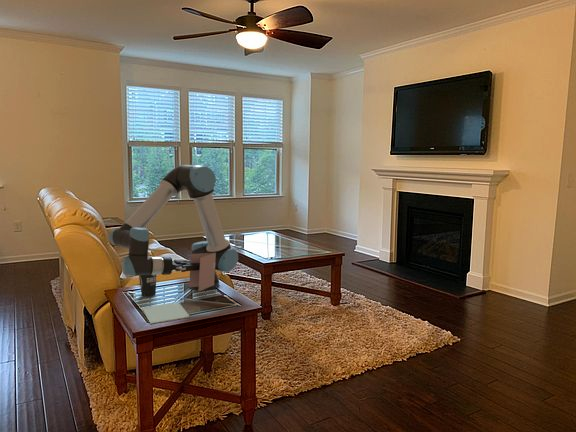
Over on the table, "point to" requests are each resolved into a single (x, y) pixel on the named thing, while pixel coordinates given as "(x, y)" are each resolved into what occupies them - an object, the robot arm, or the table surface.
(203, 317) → the table surface
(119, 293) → the table surface
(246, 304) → the table surface
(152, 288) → the coffee cup
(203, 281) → the greeting card
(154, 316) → the mat
